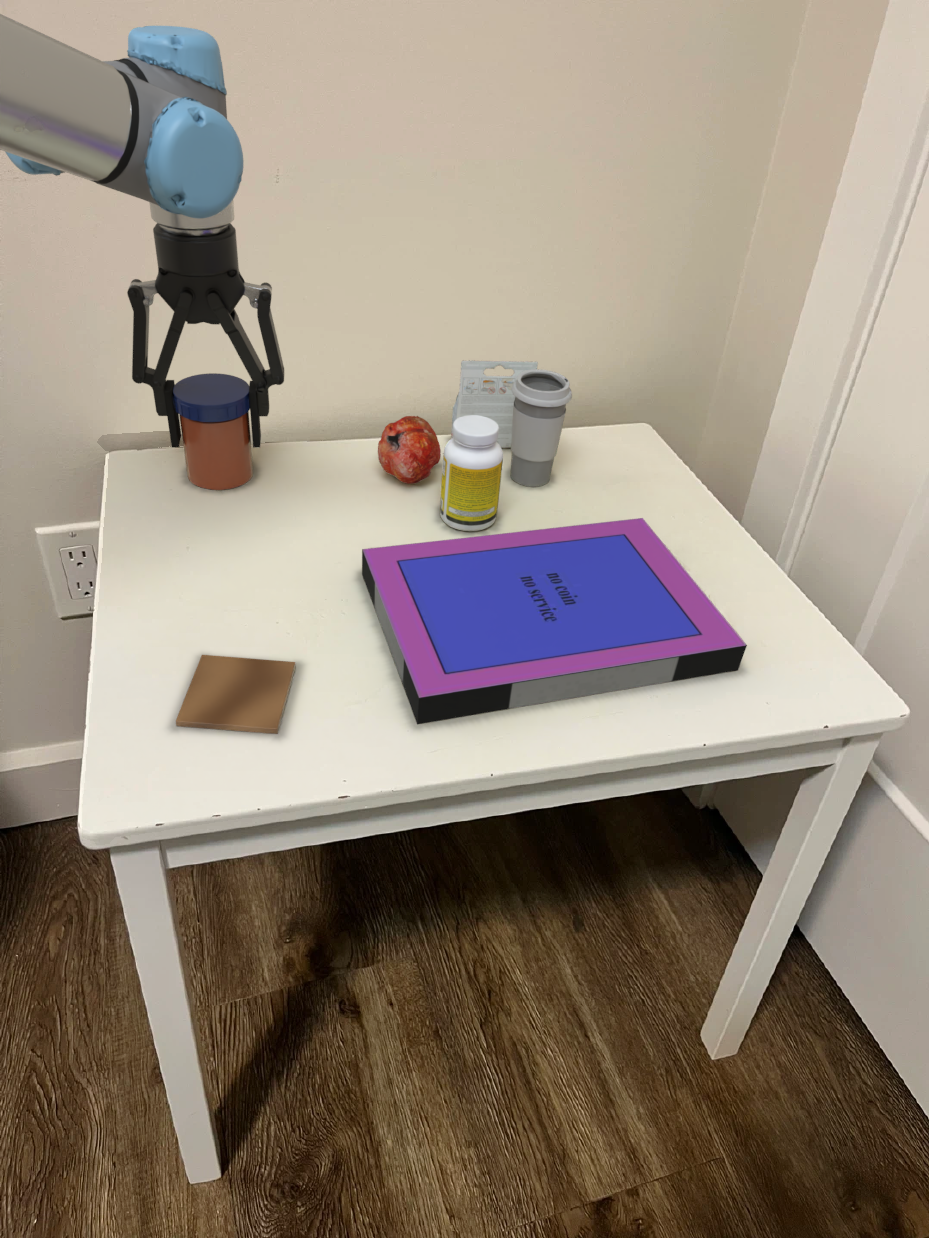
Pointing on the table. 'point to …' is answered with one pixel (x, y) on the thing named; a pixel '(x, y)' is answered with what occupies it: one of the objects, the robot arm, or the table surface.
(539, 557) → the book
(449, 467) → the pill bottle
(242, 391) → the lid
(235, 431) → the jar
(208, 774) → the table surface
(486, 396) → the ink box
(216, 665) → the cork mat
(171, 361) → the robot arm
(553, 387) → the cup
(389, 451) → the pomegranate
